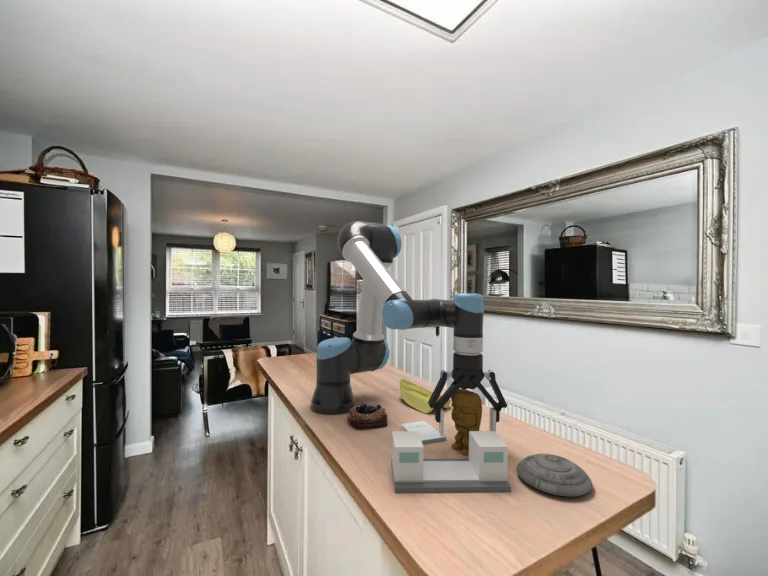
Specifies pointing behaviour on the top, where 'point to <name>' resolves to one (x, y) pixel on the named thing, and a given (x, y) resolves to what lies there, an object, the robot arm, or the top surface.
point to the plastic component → (417, 396)
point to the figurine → (465, 417)
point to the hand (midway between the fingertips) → (466, 434)
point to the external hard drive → (424, 431)
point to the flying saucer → (554, 475)
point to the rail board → (450, 465)
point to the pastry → (367, 417)
